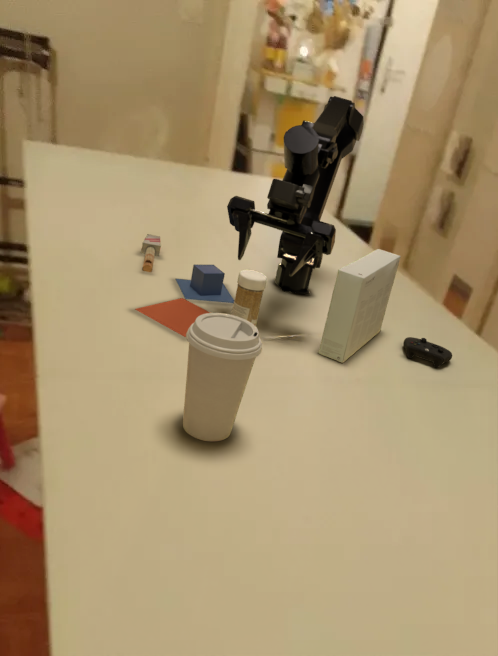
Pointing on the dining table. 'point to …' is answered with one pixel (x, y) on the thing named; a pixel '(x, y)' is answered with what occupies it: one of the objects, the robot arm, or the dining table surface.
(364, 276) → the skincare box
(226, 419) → the coffee cup
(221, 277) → the blue block
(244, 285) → the sprinkles bottle
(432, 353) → the game controller
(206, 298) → the blue mat
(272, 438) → the dining table surface
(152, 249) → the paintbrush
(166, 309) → the terracotta mat
